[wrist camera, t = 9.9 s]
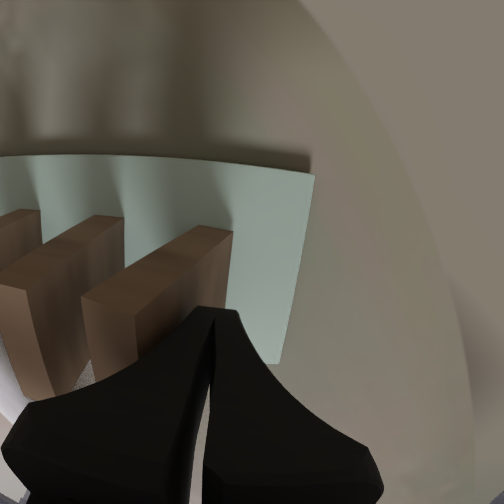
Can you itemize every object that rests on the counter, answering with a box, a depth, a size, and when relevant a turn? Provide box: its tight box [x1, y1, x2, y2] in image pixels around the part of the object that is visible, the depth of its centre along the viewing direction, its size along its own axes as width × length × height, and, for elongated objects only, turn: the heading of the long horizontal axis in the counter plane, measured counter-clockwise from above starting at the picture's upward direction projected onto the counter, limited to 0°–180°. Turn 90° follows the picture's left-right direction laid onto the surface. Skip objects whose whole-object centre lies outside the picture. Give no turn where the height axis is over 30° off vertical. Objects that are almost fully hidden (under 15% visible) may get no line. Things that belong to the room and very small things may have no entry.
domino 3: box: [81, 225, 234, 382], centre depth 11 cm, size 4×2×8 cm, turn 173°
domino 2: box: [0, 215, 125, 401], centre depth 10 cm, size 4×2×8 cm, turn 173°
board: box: [0, 154, 315, 364], centre depth 14 cm, size 10×28×1 cm, turn 83°
